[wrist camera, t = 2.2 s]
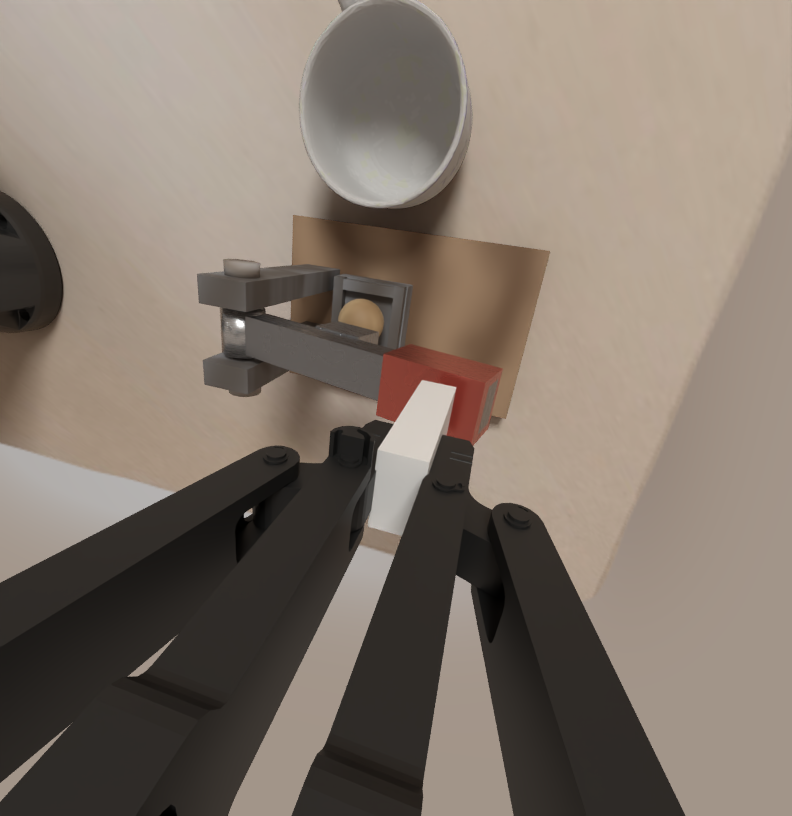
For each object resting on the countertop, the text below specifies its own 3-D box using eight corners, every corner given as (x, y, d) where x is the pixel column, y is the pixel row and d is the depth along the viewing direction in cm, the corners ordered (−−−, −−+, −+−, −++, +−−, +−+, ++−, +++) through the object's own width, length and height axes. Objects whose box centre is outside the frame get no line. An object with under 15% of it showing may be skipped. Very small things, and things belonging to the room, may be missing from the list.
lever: (264, 342, 29) (208, 354, 25) (264, 297, 27) (205, 302, 24) (497, 416, 22) (470, 449, 18) (512, 361, 21) (485, 382, 17)
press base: (298, 366, 41) (188, 431, 27) (303, 216, 35) (167, 196, 21) (505, 410, 37) (506, 513, 23) (547, 250, 32) (584, 254, 17)
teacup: (478, 205, 32) (471, 193, 25) (351, 224, 35) (311, 218, 28) (470, -23, 27) (458, -121, 20) (323, 20, 30) (266, -51, 23)
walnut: (345, 335, 34) (329, 345, 31) (349, 292, 33) (332, 297, 30) (386, 343, 34) (373, 354, 30) (391, 300, 32) (379, 306, 29)
